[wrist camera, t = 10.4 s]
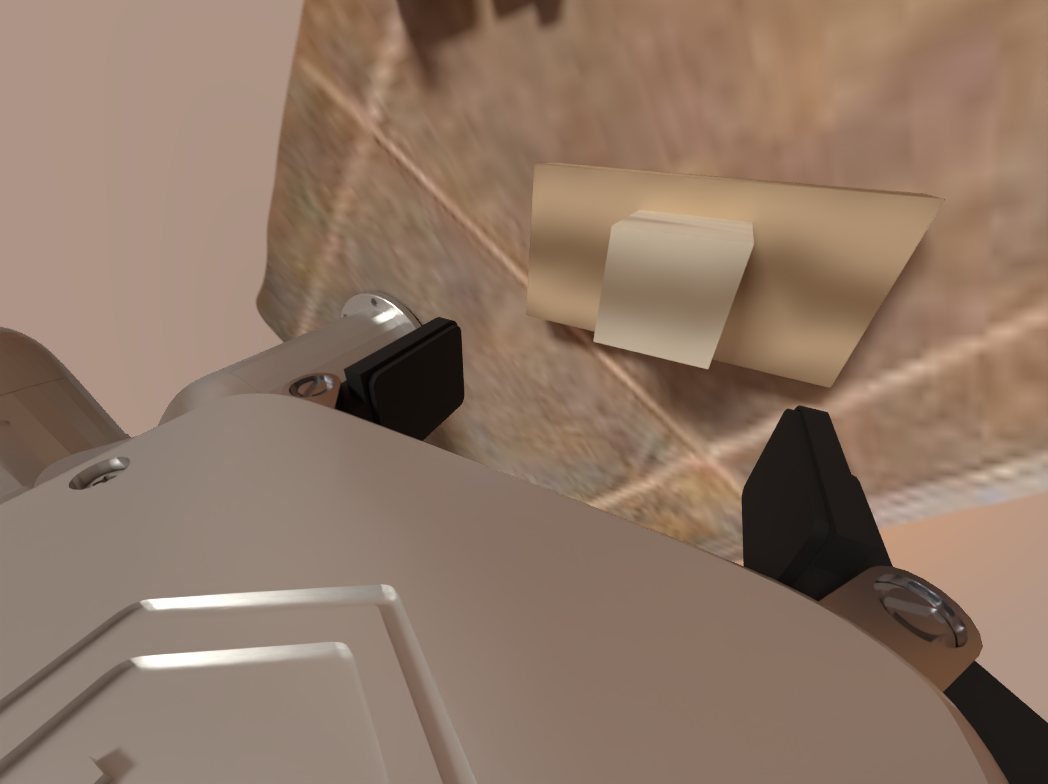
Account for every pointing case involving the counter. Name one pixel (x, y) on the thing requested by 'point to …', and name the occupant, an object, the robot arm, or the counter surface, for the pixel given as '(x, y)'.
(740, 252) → the birch cube
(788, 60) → the counter surface
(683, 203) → the oak slab
